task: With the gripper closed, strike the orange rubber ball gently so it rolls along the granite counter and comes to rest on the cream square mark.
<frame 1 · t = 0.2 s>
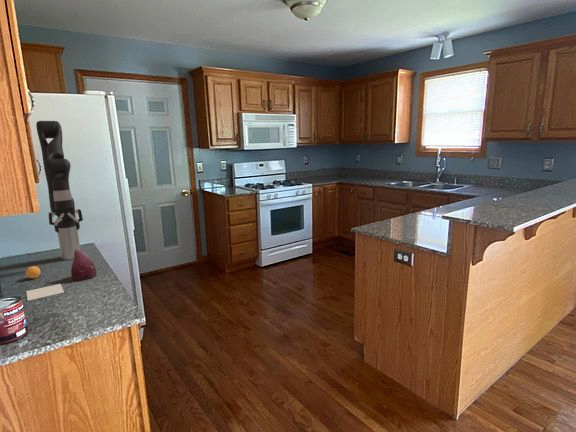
hand: (67, 231, 176), 17 cm above the countertop, tool pointing down, fingers open, 8 cm apart
ball: (33, 272, 159), on the countertop
vegetable: (84, 277, 159), on the countertop
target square: (45, 292, 142), on the countertop
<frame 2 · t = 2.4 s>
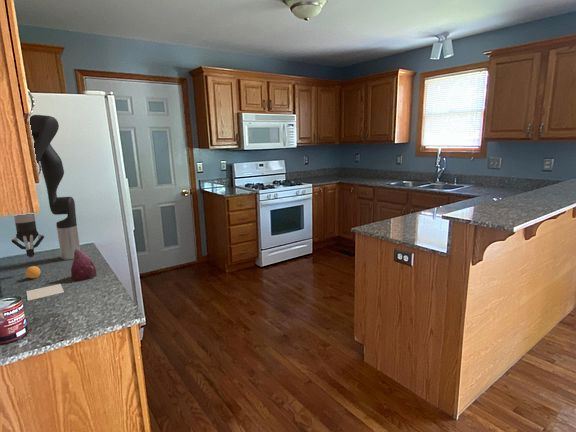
hand: (30, 256, 165), 8 cm above the countertop, tool pointing down, fingers closed
nothing on the countertop moved.
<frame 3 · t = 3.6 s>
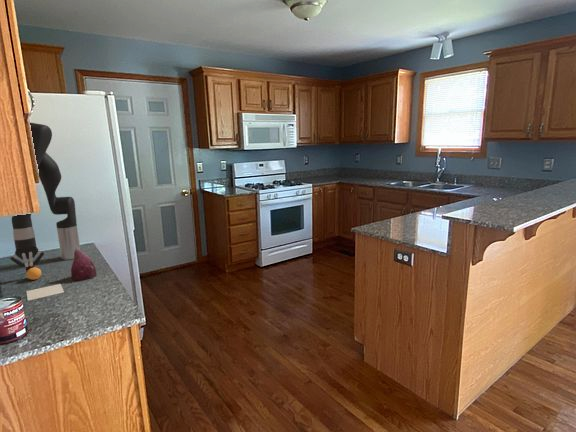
hand: (30, 273, 159), 2 cm above the countertop, tool pointing down, fingers closed
ball: (33, 273, 157), on the countertop
everything else where it was.
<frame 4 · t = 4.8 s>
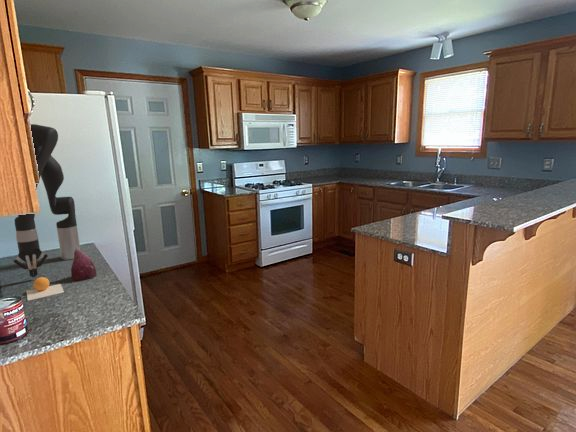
hand: (33, 276, 157), 2 cm above the countertop, tool pointing down, fingers closed
ball: (41, 283, 144), on the countertop
everything else where it was.
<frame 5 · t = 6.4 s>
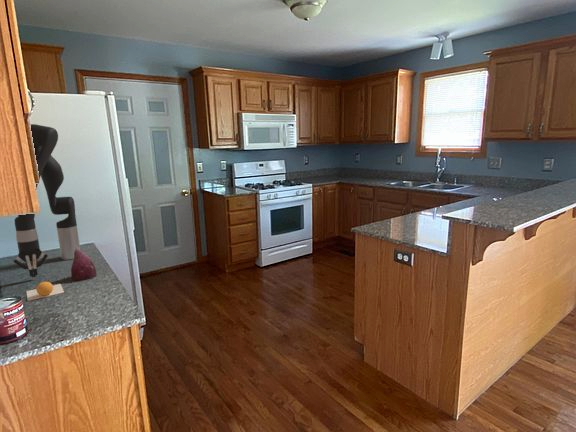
hand: (33, 276, 157), 2 cm above the countertop, tool pointing down, fingers closed
ball: (44, 288, 139), on the countertop
everything else where it was.
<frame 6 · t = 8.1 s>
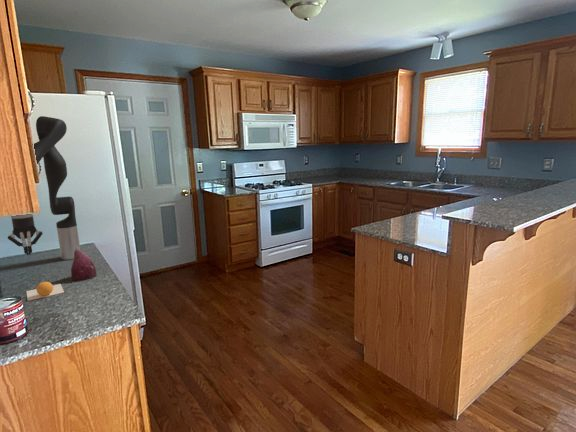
hand: (28, 254, 155), 12 cm above the countertop, tool pointing down, fingers closed
nothing on the countertop moved.
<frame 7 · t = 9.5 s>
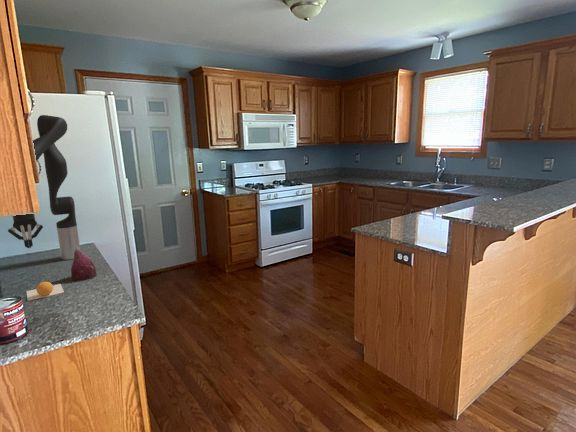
hand: (29, 247, 154), 15 cm above the countertop, tool pointing down, fingers closed
nothing on the countertop moved.
at the end: ball 4.0 cm from the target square (horizontally); ball at rest at the end (0.0 cm/s); ball moved 28.1 cm from its start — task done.
